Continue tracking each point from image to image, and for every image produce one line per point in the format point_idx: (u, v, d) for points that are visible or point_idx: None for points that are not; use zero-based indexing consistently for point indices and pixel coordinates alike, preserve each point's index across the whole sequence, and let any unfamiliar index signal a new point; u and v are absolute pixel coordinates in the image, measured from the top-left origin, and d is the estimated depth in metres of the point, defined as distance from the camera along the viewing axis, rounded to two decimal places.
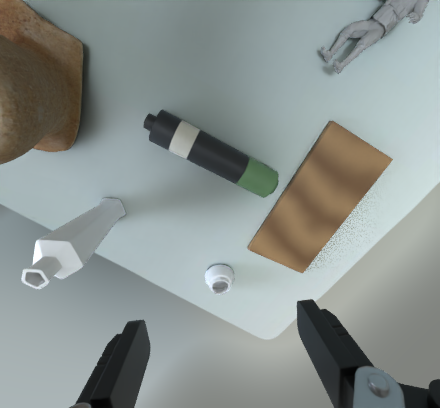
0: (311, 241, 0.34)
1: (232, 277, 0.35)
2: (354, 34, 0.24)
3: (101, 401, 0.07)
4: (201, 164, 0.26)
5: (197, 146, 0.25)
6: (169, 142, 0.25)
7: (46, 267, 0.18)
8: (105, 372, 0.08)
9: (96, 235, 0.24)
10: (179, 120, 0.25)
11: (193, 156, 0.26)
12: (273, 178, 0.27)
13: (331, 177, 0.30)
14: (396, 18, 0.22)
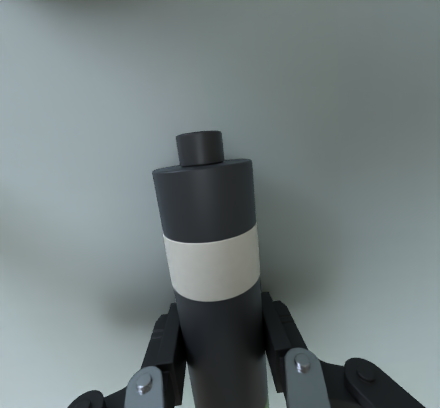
0: None
1: None
2: None
3: (165, 366, 0.08)
4: (187, 334, 0.09)
5: (227, 312, 0.08)
6: (187, 240, 0.07)
7: None
8: (162, 343, 0.09)
9: None
10: (254, 218, 0.09)
11: (194, 312, 0.08)
12: None
13: None
14: None
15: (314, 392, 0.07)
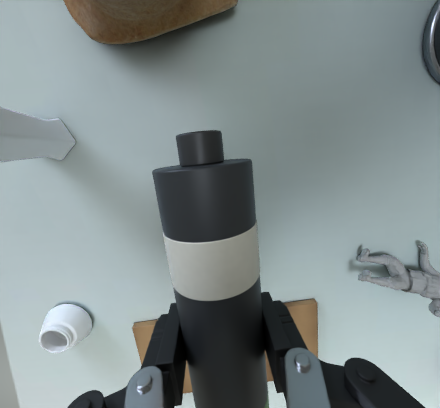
0: None
1: (81, 339, 0.24)
2: (391, 267, 0.24)
3: (165, 366, 0.08)
4: (187, 334, 0.09)
5: (227, 311, 0.08)
6: (187, 239, 0.07)
7: None
8: (162, 343, 0.09)
9: None
10: (254, 217, 0.09)
11: (194, 312, 0.08)
12: None
13: None
14: (422, 292, 0.23)
15: (314, 392, 0.07)
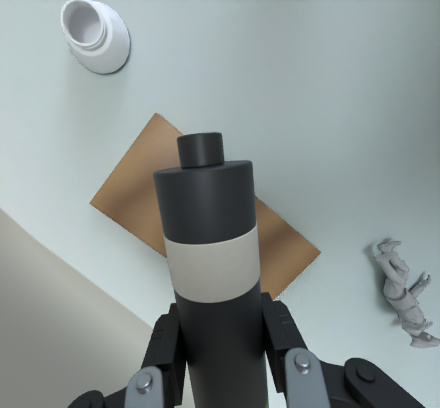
0: (153, 221, 0.21)
1: (98, 64, 0.17)
2: (398, 272, 0.23)
3: (165, 366, 0.08)
4: (188, 335, 0.09)
5: (228, 313, 0.08)
6: (188, 241, 0.07)
7: None
8: (162, 343, 0.09)
9: None
10: (255, 219, 0.09)
11: (194, 313, 0.08)
12: None
13: None
14: (406, 309, 0.23)
15: (314, 392, 0.07)
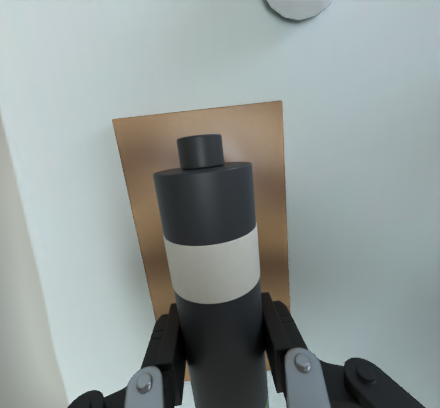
0: None
1: None
2: None
3: (165, 366, 0.08)
4: (188, 336, 0.09)
5: (228, 314, 0.08)
6: (188, 242, 0.07)
7: None
8: (162, 343, 0.09)
9: None
10: (255, 220, 0.09)
11: (194, 314, 0.08)
12: None
13: None
14: None
15: (314, 392, 0.07)
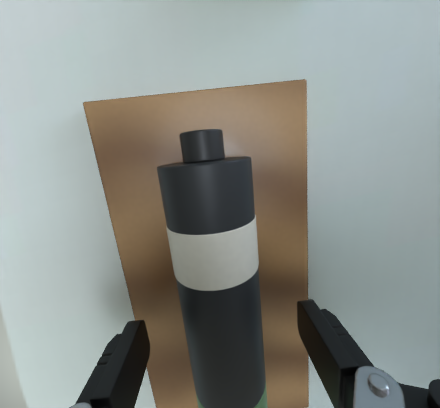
0: (155, 213, 0.12)
1: None
2: None
3: (101, 401, 0.07)
4: (189, 323, 0.09)
5: (227, 301, 0.09)
6: (189, 232, 0.08)
7: None
8: (105, 372, 0.08)
9: None
10: (253, 212, 0.09)
11: (195, 301, 0.09)
12: None
13: None
14: None
15: None
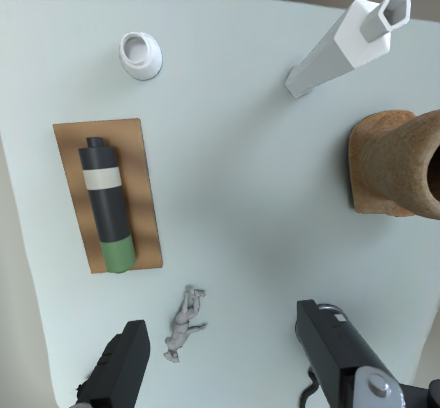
0: None
1: (127, 68, 0.25)
2: (191, 311, 0.35)
3: (101, 401, 0.07)
4: (92, 205, 0.26)
5: (104, 193, 0.26)
6: (89, 169, 0.25)
7: (380, 33, 0.14)
8: (105, 372, 0.08)
9: (319, 68, 0.20)
10: (115, 165, 0.27)
11: (93, 194, 0.26)
12: (127, 265, 0.29)
13: None
14: (176, 331, 0.34)
15: None
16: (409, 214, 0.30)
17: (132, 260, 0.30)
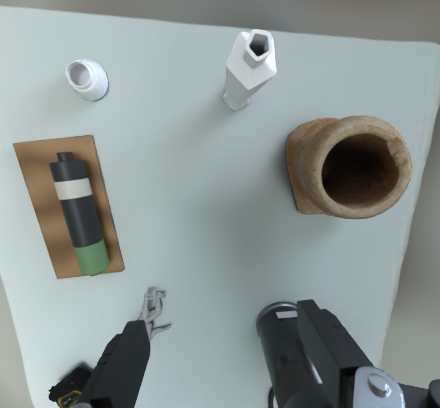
0: (42, 182, 0.32)
1: (76, 92, 0.28)
2: (153, 311, 0.37)
3: (101, 401, 0.07)
4: (78, 212, 0.29)
5: (89, 199, 0.30)
6: (76, 179, 0.28)
7: (254, 62, 0.17)
8: (105, 372, 0.08)
9: (232, 88, 0.23)
10: None
11: (80, 201, 0.29)
12: (108, 261, 0.33)
13: None
14: None
15: None
16: None
17: None
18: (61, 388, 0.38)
